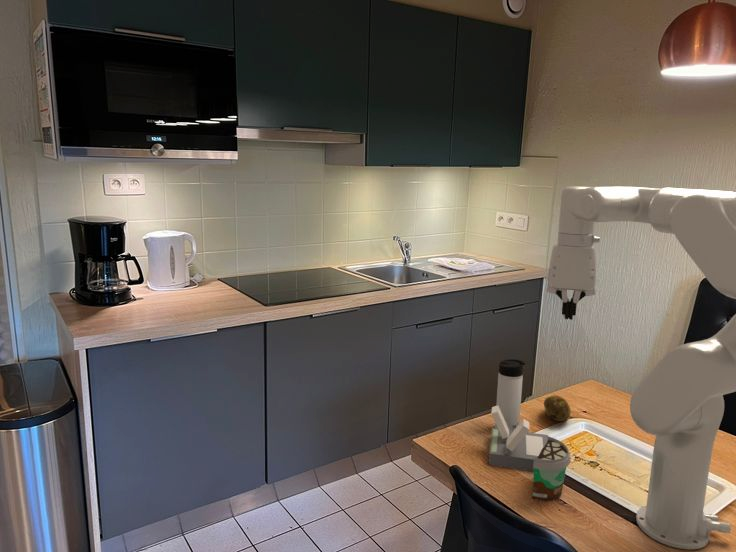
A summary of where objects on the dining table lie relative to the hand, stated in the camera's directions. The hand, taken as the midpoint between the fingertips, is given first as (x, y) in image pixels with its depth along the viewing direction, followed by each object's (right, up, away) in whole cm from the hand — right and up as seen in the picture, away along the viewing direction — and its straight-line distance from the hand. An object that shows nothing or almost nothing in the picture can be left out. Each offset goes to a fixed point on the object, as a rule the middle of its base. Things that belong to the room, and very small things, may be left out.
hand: (568, 317), depth 129 cm
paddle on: (-13, -31, +7) cm, 34 cm away
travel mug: (-10, -32, +18) cm, 38 cm away
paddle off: (-14, -32, +2) cm, 35 cm away
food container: (-7, -38, -9) cm, 39 cm away
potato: (+6, -31, +26) cm, 41 cm away
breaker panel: (-10, -34, +6) cm, 36 cm away
